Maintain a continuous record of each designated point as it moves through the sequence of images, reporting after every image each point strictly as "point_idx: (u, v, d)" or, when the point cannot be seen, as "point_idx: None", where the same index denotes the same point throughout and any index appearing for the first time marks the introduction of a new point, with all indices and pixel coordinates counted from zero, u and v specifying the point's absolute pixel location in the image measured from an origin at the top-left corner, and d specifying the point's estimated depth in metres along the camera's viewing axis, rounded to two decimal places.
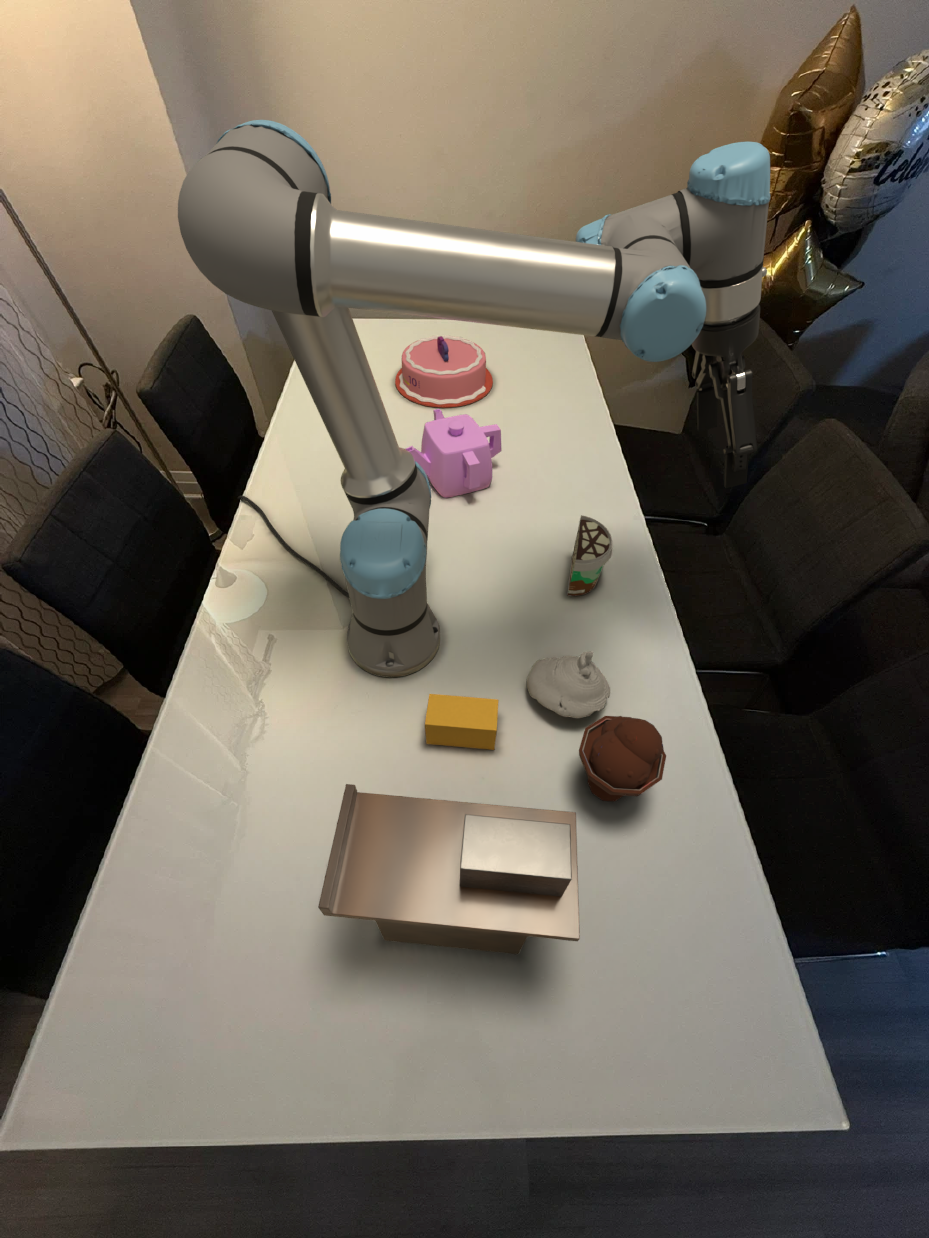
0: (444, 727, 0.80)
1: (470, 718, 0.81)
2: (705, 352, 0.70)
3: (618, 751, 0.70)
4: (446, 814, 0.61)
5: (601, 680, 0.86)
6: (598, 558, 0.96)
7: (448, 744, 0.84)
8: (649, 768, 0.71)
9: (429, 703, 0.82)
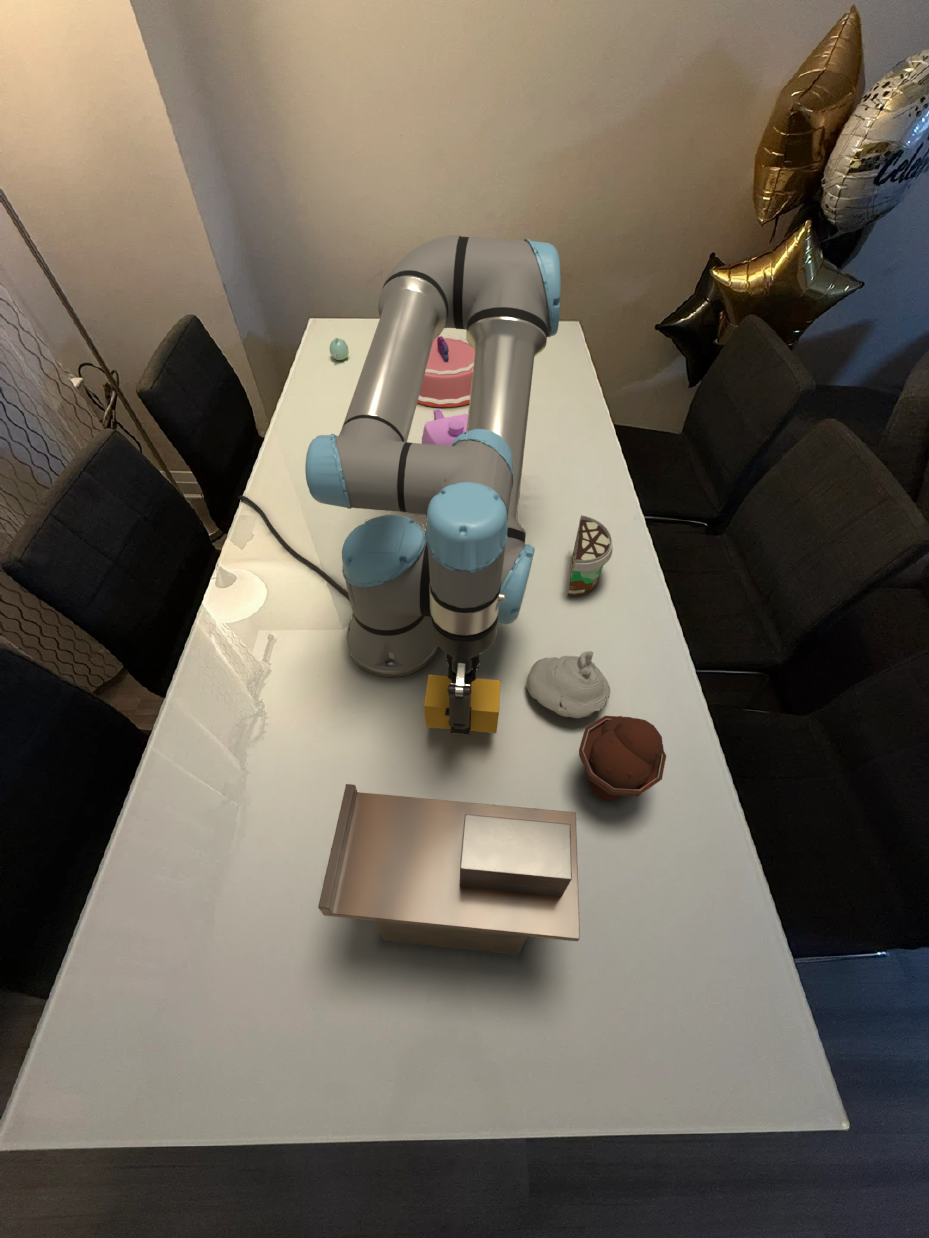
0: (444, 709, 0.77)
1: (471, 700, 0.78)
2: (437, 644, 0.66)
3: (618, 751, 0.70)
4: (446, 814, 0.61)
5: (601, 680, 0.86)
6: (598, 558, 0.96)
7: (448, 727, 0.81)
8: (649, 768, 0.71)
9: (428, 684, 0.79)
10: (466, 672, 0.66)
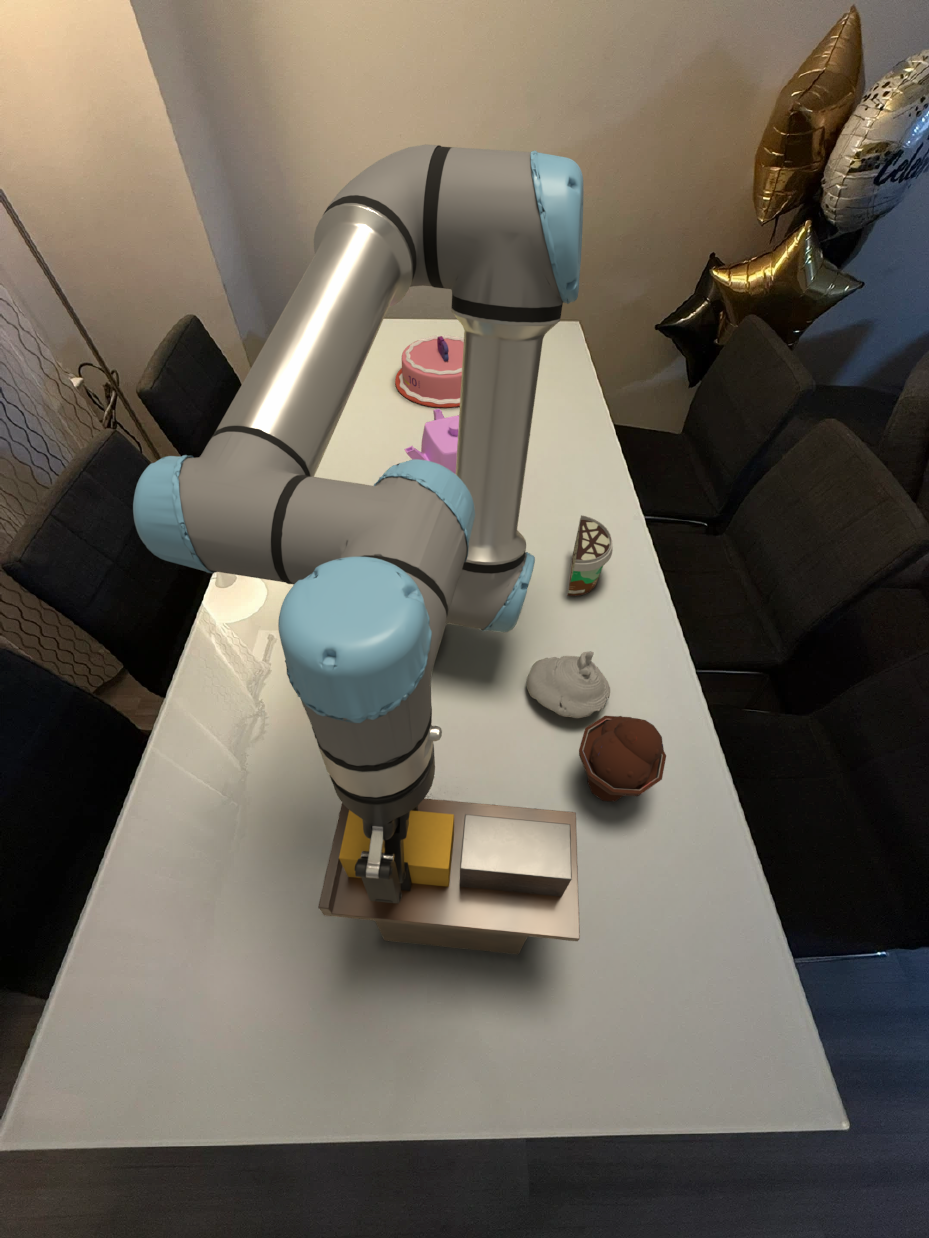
0: None
1: (410, 848, 0.53)
2: (338, 796, 0.41)
3: (618, 751, 0.70)
4: None
5: (601, 680, 0.86)
6: (598, 558, 0.96)
7: None
8: (649, 768, 0.71)
9: (349, 821, 0.54)
10: (386, 839, 0.42)
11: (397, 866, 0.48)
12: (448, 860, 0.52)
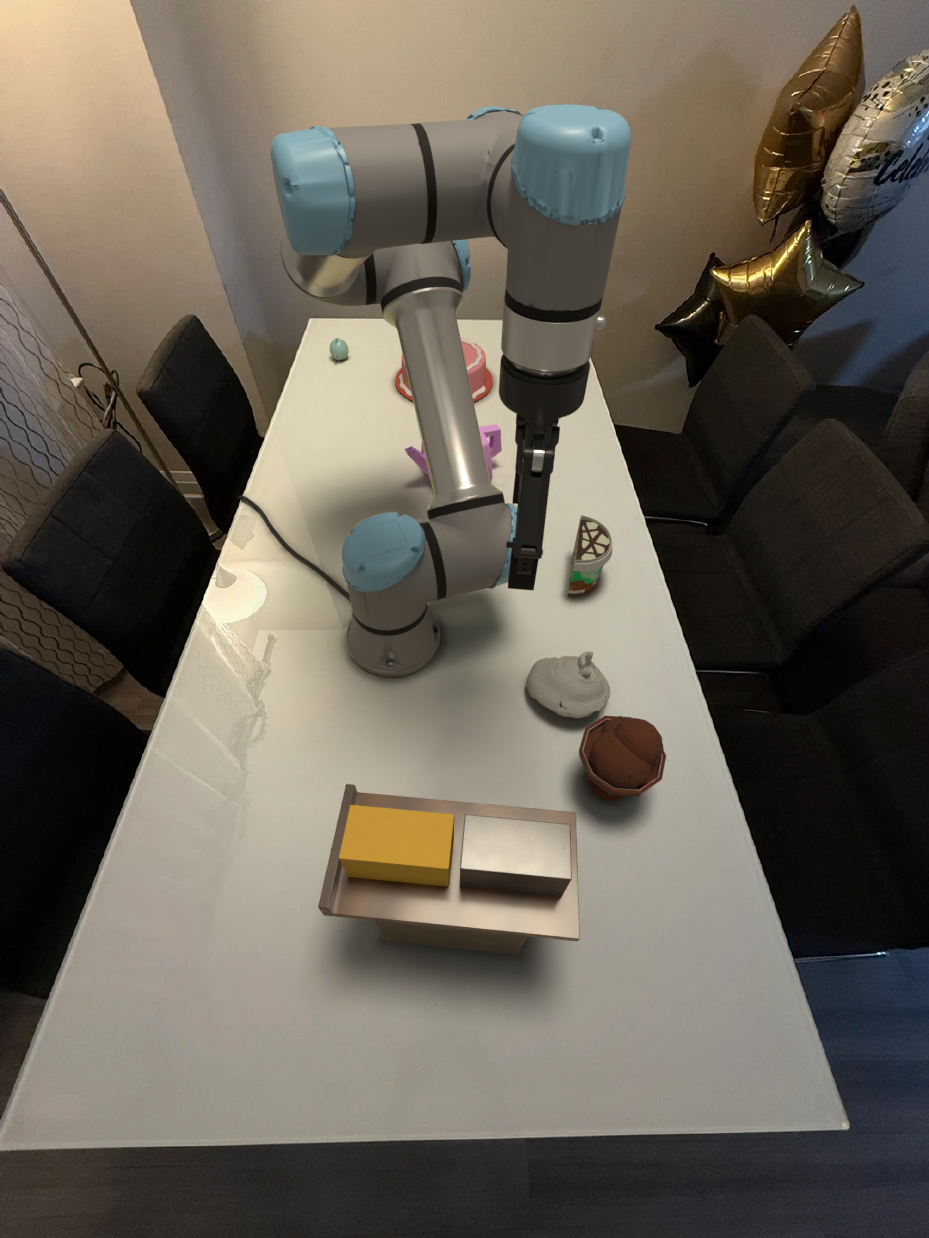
0: (369, 862, 0.53)
1: (410, 848, 0.53)
2: (508, 405, 0.49)
3: (618, 751, 0.70)
4: None
5: (601, 680, 0.86)
6: (598, 558, 0.96)
7: (380, 878, 0.56)
8: (649, 768, 0.71)
9: (349, 821, 0.54)
10: (545, 446, 0.50)
11: None
12: (448, 860, 0.52)
